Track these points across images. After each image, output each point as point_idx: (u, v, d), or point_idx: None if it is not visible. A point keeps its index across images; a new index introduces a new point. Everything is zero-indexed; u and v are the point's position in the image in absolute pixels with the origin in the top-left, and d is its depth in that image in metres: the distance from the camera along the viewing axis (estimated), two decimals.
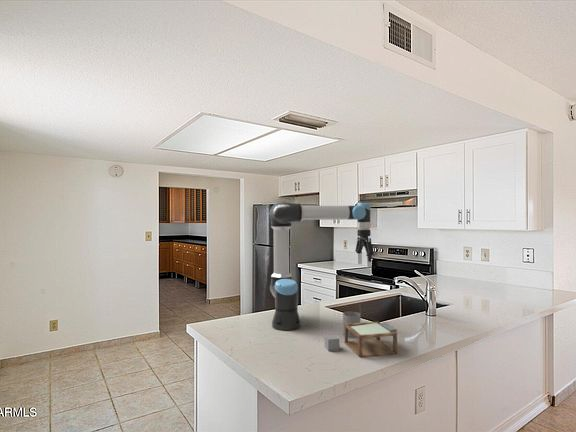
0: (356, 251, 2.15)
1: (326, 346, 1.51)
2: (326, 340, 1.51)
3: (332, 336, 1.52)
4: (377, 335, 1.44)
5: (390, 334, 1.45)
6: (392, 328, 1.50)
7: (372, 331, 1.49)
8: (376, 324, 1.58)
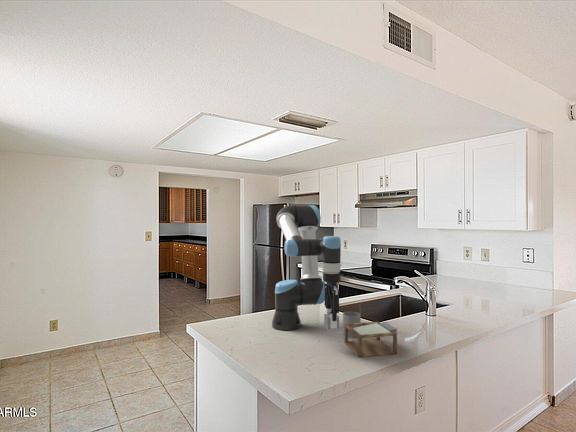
0: (325, 305, 1.57)
1: (325, 324, 1.52)
2: (326, 318, 1.52)
3: None
4: (377, 335, 1.44)
5: (390, 334, 1.45)
6: (392, 328, 1.50)
7: (372, 332, 1.49)
8: (376, 324, 1.58)
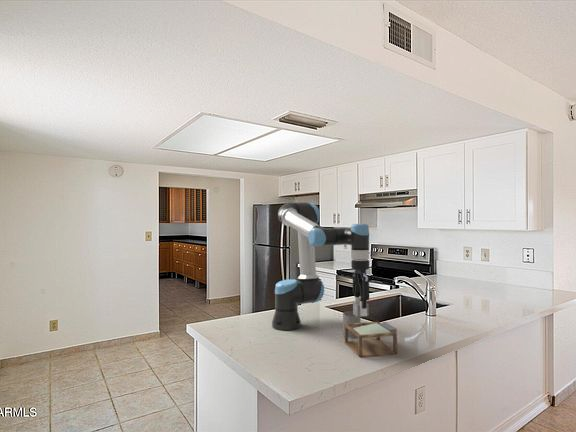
0: None
1: (355, 312, 1.50)
2: (355, 306, 1.50)
3: None
4: (377, 335, 1.44)
5: (390, 334, 1.45)
6: (392, 328, 1.50)
7: (372, 332, 1.49)
8: (376, 324, 1.58)
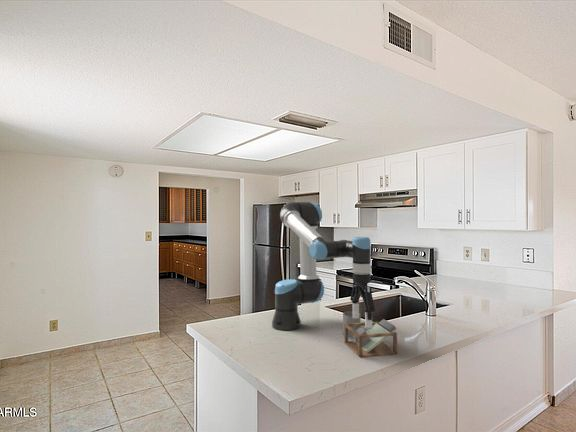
0: (351, 300, 1.60)
1: None
2: (355, 338, 1.51)
3: (358, 331, 1.52)
4: (377, 335, 1.44)
5: (390, 334, 1.45)
6: (390, 326, 1.50)
7: (374, 338, 1.49)
8: (376, 325, 1.58)
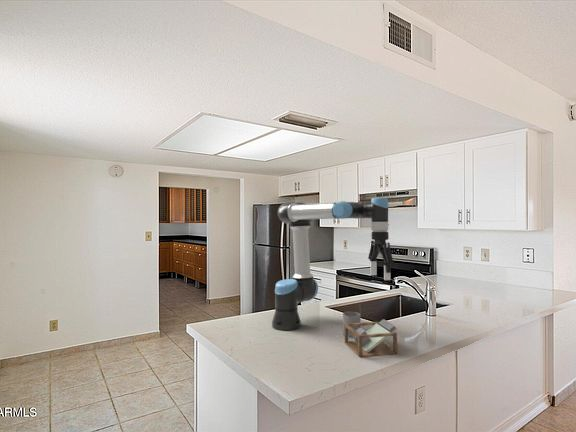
0: (369, 258, 1.70)
1: None
2: (354, 338, 1.51)
3: (358, 331, 1.52)
4: (377, 335, 1.44)
5: (390, 334, 1.45)
6: (390, 326, 1.50)
7: (374, 338, 1.49)
8: (376, 325, 1.58)
